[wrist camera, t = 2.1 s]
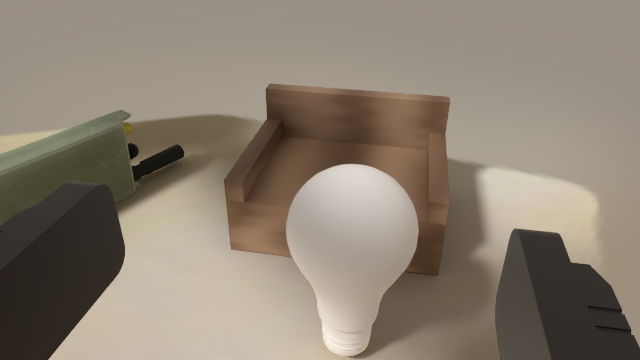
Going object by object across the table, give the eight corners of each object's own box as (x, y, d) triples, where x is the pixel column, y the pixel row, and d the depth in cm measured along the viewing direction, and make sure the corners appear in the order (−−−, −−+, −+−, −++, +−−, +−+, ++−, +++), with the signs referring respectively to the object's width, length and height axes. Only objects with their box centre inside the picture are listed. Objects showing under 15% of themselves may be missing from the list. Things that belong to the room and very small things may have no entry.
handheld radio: (-170, 325, 29) (168, 157, 47) (-147, 352, 28) (194, 168, 45) (-232, 232, 26) (159, 89, 43) (-209, 258, 24) (186, 99, 42)
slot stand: (231, 248, 35) (220, 144, 31) (273, 170, 45) (269, 83, 40) (437, 275, 33) (455, 167, 29) (436, 187, 42) (449, 96, 38)
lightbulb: (420, 382, 26) (450, 200, 20) (302, 407, 24) (300, 220, 19) (379, 299, 31) (395, 136, 25) (280, 316, 30) (273, 148, 24)
